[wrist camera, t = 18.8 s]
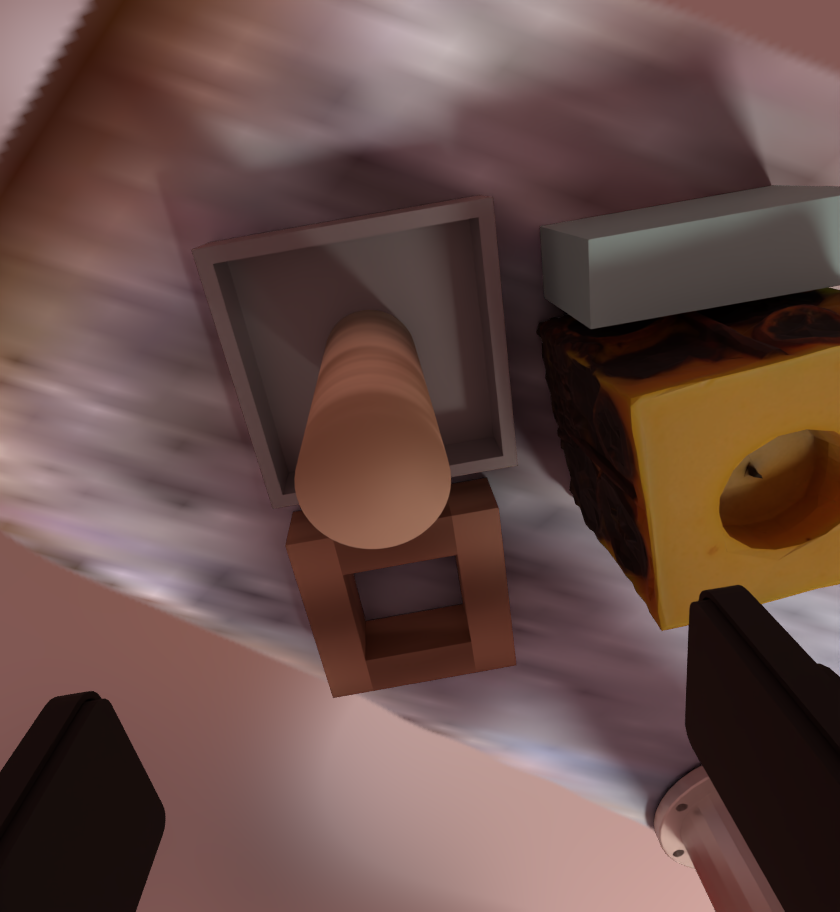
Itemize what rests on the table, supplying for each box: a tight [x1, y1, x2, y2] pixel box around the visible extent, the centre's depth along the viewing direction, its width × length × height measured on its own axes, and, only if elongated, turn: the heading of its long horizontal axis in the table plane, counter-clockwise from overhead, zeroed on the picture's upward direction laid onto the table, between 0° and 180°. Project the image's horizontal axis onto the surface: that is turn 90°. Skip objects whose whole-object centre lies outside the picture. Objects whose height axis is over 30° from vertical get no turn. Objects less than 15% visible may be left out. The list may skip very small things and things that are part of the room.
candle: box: [537, 287, 840, 631], centre depth 24 cm, size 10×10×10 cm
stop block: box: [540, 185, 840, 329], centre depth 22 cm, size 3×10×6 cm, turn 99°
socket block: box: [285, 478, 516, 698], centre depth 30 cm, size 10×10×3 cm
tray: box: [192, 195, 518, 509], centre depth 25 cm, size 11×11×3 cm
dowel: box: [294, 310, 451, 549], centre depth 20 cm, size 4×4×12 cm
